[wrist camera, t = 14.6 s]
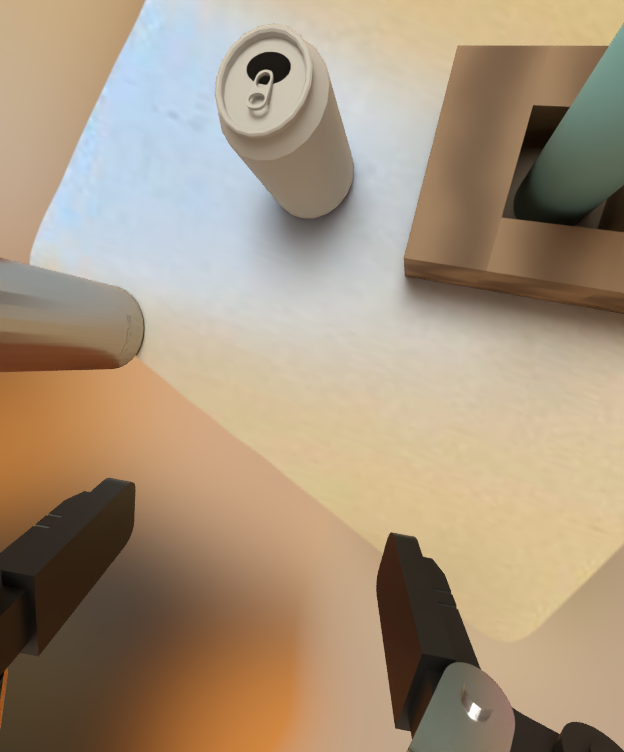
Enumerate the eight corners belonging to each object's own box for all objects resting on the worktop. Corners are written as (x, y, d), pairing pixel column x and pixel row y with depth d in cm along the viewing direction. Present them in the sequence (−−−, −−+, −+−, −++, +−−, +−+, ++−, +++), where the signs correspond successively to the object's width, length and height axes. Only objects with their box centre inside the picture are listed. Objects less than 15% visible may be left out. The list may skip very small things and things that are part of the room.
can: (365, 141, 30) (337, 6, 19) (343, 228, 31) (303, 150, 19) (287, 134, 32) (217, 7, 21) (268, 216, 33) (192, 138, 21)
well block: (405, 275, 30) (403, 257, 24) (448, 104, 28) (457, 45, 23) (652, 318, 25) (717, 307, 20) (721, 116, 24) (811, 46, 18)
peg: (505, 229, 26) (642, 43, 11) (524, 162, 26) (698, -132, 10) (578, 239, 25) (848, 47, 10) (600, 169, 25) (923, -152, 9)
